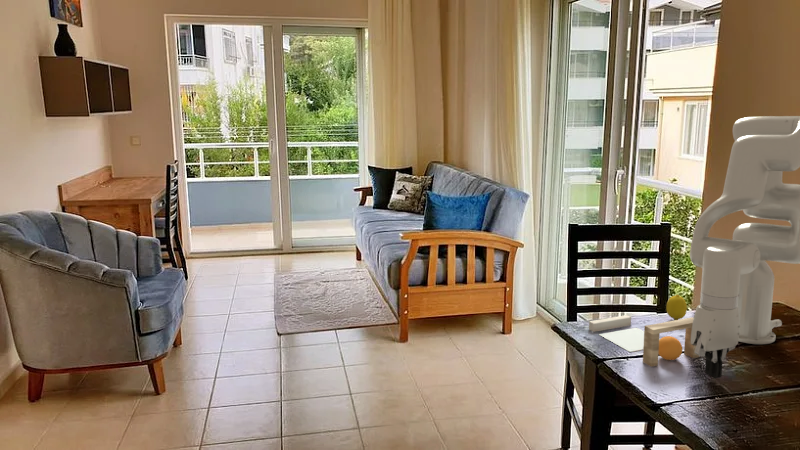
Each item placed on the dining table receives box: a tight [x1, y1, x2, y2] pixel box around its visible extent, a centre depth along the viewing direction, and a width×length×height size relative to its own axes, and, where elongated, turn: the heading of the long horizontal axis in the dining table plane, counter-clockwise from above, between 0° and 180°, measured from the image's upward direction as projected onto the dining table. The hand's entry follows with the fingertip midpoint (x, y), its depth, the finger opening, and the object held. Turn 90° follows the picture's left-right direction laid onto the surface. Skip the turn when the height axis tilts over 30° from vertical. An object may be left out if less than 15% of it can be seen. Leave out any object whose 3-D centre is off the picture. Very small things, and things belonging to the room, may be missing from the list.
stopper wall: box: [588, 314, 632, 333], centre depth 172 cm, size 13×2×2 cm, turn 108°
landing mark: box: [598, 327, 661, 353], centre depth 163 cm, size 13×13×1 cm
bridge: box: [642, 316, 700, 368], centre depth 149 cm, size 3×15×10 cm, turn 108°
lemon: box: [665, 294, 688, 321], centre depth 175 cm, size 6×6×8 cm
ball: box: [658, 335, 683, 361], centre depth 149 cm, size 6×6×6 cm
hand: (713, 375), depth 137 cm, fingers closed
